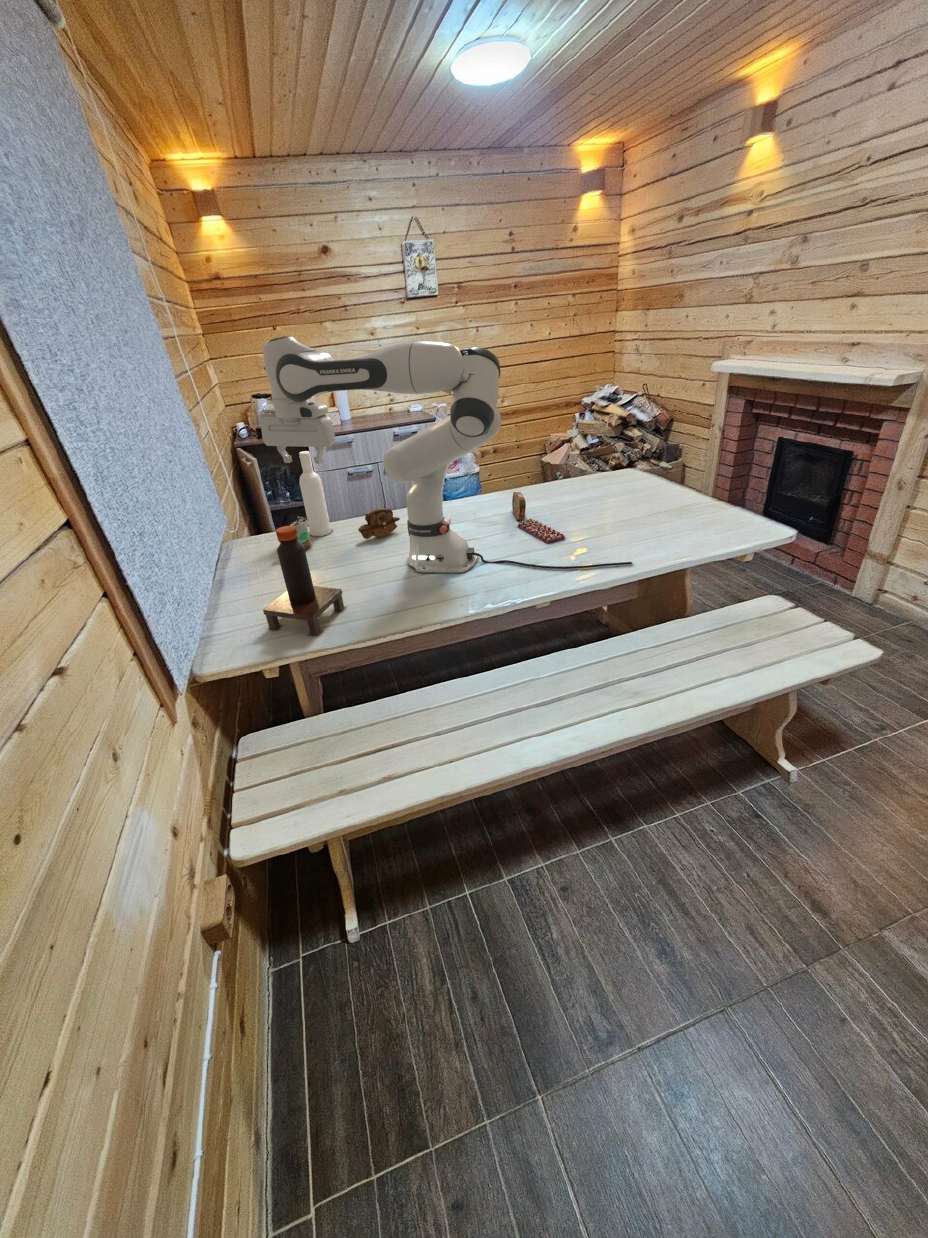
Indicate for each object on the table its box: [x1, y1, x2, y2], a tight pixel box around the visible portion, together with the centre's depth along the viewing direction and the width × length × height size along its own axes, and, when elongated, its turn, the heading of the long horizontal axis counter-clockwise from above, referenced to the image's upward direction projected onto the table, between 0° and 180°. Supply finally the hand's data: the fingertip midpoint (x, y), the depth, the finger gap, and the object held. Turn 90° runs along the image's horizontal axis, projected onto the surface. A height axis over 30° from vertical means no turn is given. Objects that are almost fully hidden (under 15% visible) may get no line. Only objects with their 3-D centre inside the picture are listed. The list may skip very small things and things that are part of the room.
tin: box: [511, 491, 527, 520], centre depth 199 cm, size 15×3×8 cm, turn 5°
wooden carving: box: [357, 508, 401, 540], centre depth 188 cm, size 16×5×10 cm, turn 131°
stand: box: [262, 585, 345, 636], centre depth 141 cm, size 15×15×6 cm
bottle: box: [298, 450, 332, 537], centre depth 189 cm, size 8×8×30 cm
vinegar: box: [275, 525, 315, 605], centre depth 134 cm, size 7×7×20 cm
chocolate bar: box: [517, 518, 566, 544], centre depth 186 cm, size 7×19×2 cm, turn 28°
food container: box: [287, 515, 311, 552], centre depth 182 cm, size 12×6×10 cm, turn 168°
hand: (303, 462), depth 141 cm, fingers open, 8 cm apart
